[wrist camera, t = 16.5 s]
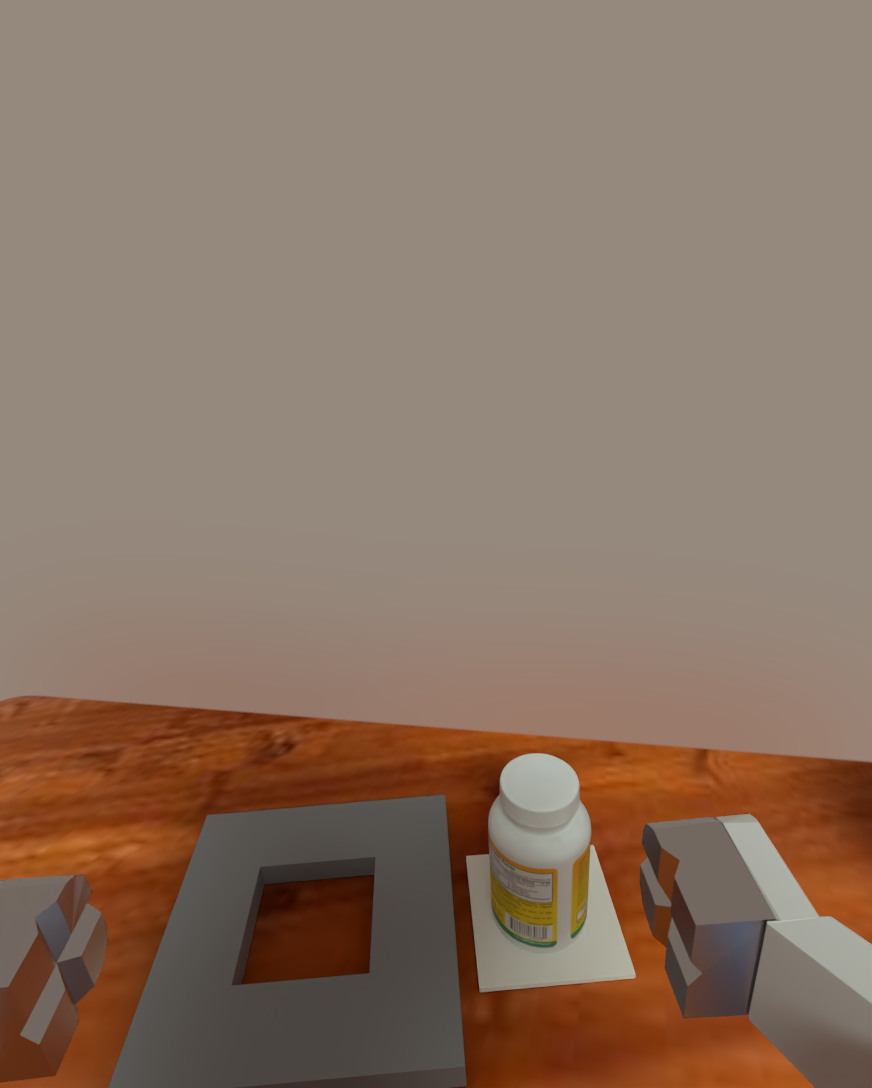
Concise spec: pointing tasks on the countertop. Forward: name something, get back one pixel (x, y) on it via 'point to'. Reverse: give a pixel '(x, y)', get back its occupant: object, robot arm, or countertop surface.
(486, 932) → the mat
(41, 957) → the robot arm
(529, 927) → the supplement bottle
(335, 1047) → the housing plate
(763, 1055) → the countertop surface
